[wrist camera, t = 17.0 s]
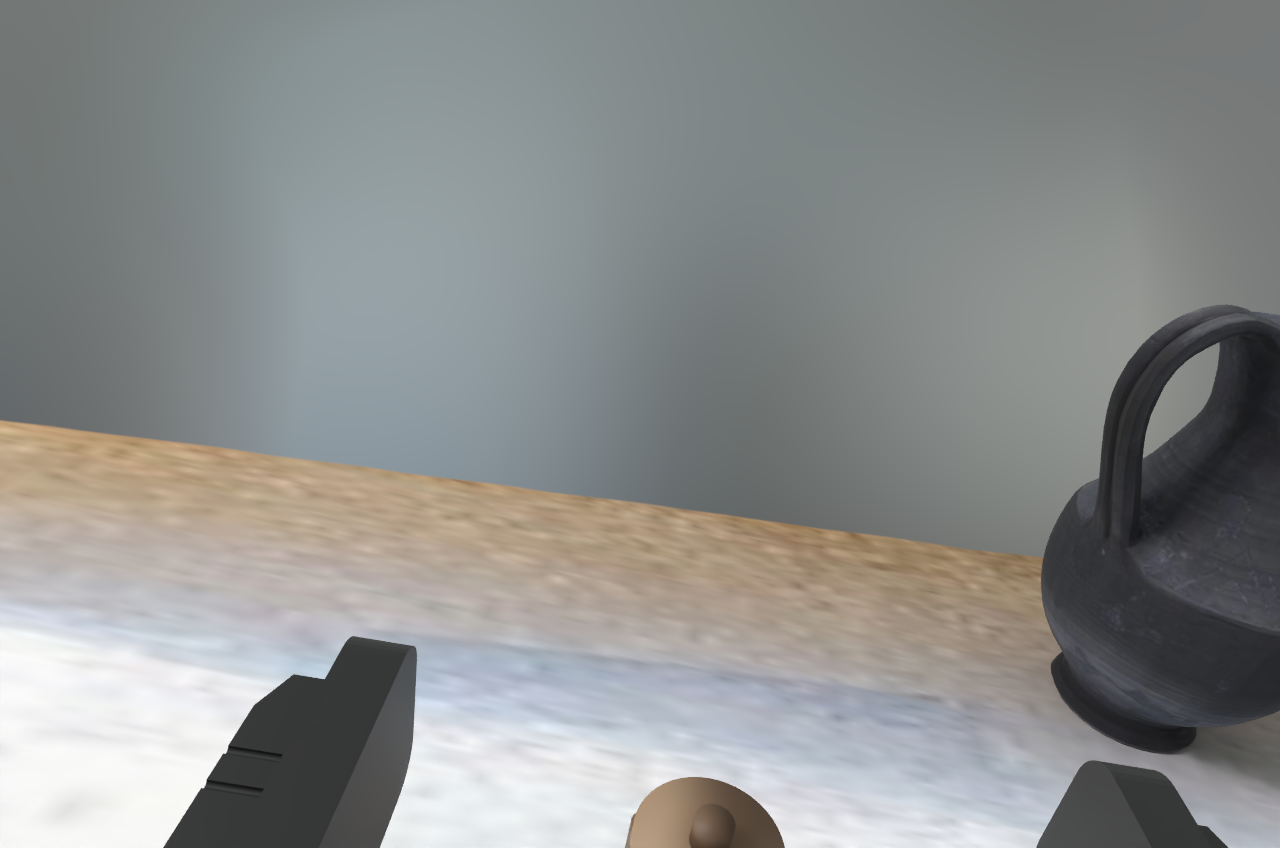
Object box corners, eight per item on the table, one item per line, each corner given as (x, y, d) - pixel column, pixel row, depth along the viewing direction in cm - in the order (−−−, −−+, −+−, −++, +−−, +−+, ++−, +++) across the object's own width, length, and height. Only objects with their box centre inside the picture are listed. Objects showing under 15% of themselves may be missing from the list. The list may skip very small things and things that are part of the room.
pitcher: (1315, 791, 56) (1617, 388, 43) (1059, 823, 50) (1317, 369, 37) (1127, 618, 71) (1308, 277, 58) (913, 628, 65) (1059, 252, 52)
